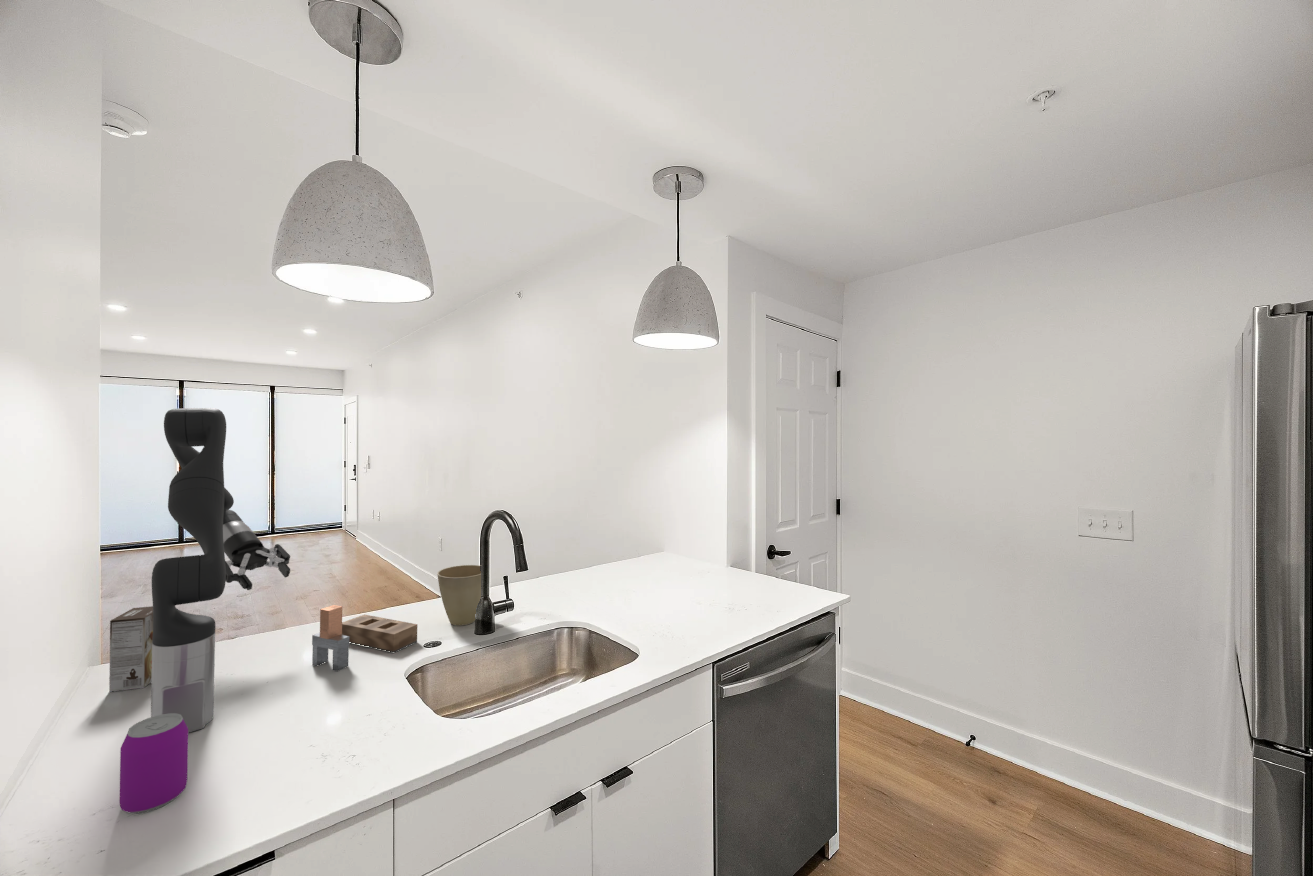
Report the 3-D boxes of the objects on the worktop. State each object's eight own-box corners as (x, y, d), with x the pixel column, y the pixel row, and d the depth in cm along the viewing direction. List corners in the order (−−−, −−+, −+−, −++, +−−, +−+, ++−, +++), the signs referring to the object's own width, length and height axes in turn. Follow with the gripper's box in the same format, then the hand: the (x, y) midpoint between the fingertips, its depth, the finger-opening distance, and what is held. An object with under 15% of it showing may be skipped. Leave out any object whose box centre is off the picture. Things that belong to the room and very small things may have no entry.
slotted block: (417, 642, 145) (417, 624, 145) (393, 653, 137) (393, 634, 137) (364, 631, 152) (364, 614, 152) (339, 641, 144) (339, 623, 144)
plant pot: (451, 612, 169) (452, 563, 169) (494, 614, 168) (495, 565, 168) (426, 629, 154) (427, 576, 154) (474, 632, 153) (475, 578, 153)
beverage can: (104, 813, 78) (106, 734, 78) (160, 780, 86) (162, 708, 86) (147, 820, 77) (148, 740, 77) (200, 786, 85) (201, 713, 85)
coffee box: (131, 674, 122) (133, 607, 122) (166, 670, 125) (167, 604, 125) (107, 693, 114) (109, 620, 114) (145, 688, 116) (146, 617, 116)
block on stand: (349, 666, 129) (351, 608, 129) (336, 672, 126) (337, 612, 126) (324, 659, 132) (325, 603, 132) (310, 665, 129) (311, 607, 129)
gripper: (207, 539, 131) (239, 581, 126) (270, 523, 143) (301, 561, 138) (203, 560, 134) (235, 602, 129) (266, 542, 146) (296, 580, 141)
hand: (269, 581), depth 133 cm, fingers open, 8 cm apart
